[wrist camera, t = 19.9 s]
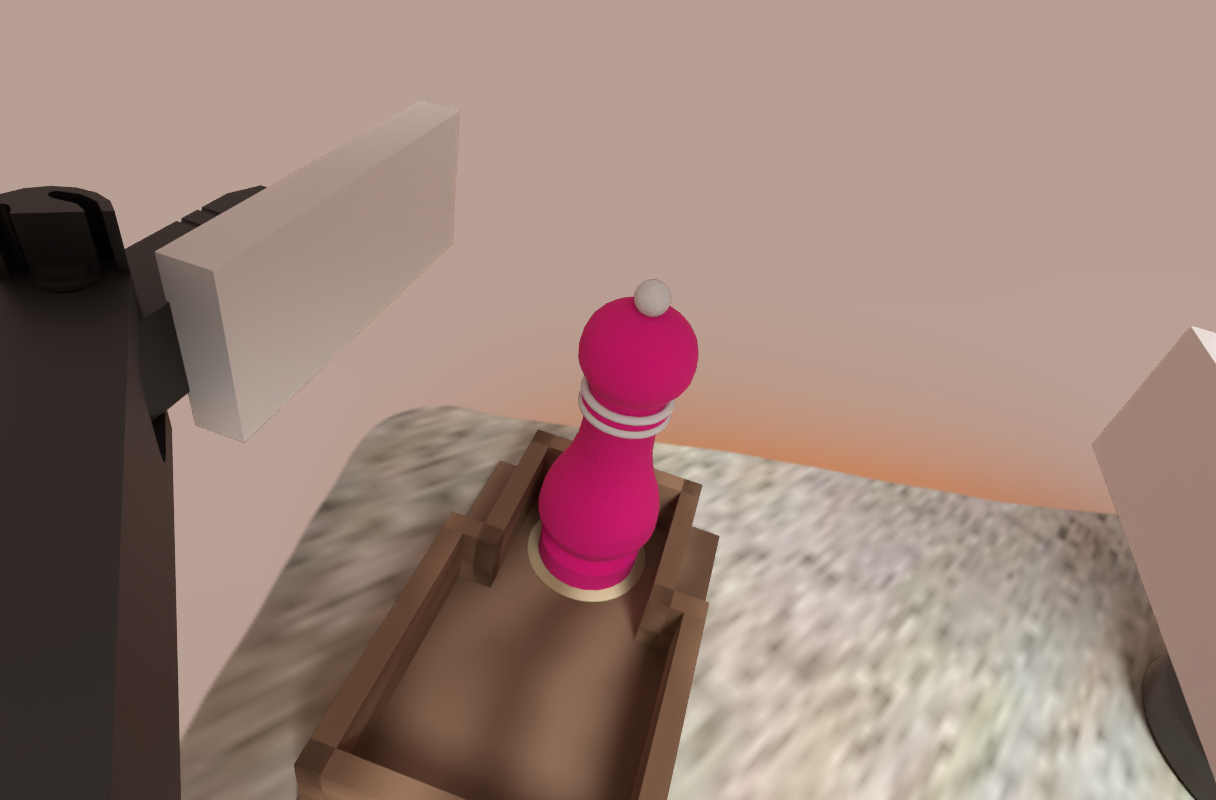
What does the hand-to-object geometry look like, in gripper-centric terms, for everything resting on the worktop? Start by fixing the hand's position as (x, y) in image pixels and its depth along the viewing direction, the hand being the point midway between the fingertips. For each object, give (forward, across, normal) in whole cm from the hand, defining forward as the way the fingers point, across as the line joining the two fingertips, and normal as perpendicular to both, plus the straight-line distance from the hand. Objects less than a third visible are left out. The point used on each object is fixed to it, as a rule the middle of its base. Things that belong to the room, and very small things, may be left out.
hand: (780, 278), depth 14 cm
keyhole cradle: (+11, -4, -32) cm, 34 cm away
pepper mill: (+18, -4, -31) cm, 36 cm away
